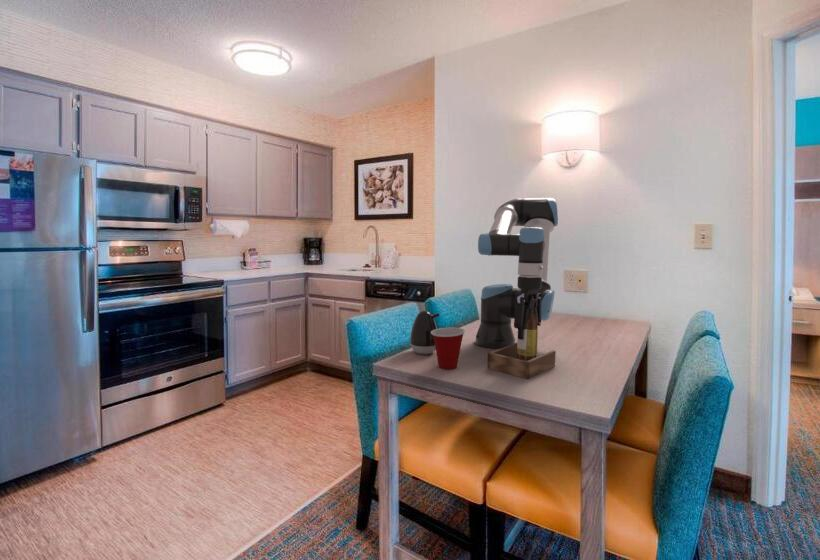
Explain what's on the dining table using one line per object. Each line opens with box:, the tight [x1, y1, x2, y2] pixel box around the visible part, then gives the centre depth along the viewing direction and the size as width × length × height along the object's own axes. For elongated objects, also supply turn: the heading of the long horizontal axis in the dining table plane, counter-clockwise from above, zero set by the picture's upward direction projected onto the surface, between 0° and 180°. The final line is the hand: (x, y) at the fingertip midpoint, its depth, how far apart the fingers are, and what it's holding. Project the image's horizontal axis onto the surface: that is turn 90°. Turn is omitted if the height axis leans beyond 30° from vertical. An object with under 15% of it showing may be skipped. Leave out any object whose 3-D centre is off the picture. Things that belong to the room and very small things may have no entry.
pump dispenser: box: [409, 310, 440, 355], centre depth 149 cm, size 10×10×15 cm
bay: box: [486, 342, 556, 380], centre depth 134 cm, size 14×18×5 cm
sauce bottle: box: [517, 299, 539, 361], centre depth 135 cm, size 7×6×20 cm
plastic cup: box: [431, 326, 466, 370], centre depth 133 cm, size 11×11×12 cm
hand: (526, 346), depth 136 cm, fingers closed on sauce bottle, 6 cm apart
